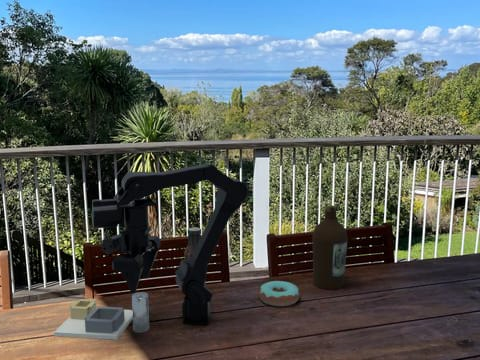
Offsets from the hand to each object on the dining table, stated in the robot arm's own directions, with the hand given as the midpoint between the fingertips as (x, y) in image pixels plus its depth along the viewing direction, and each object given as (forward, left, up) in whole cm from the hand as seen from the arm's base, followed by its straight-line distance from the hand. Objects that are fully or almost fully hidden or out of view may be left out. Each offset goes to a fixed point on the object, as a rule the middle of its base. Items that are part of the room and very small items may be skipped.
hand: (139, 285), depth 117 cm
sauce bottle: (-9, -23, -12) cm, 27 cm away
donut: (-34, -22, -12) cm, 42 cm away
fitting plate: (+12, -1, -12) cm, 17 cm away
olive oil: (-49, -35, -12) cm, 61 cm away
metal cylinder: (0, 0, -12) cm, 12 cm away
